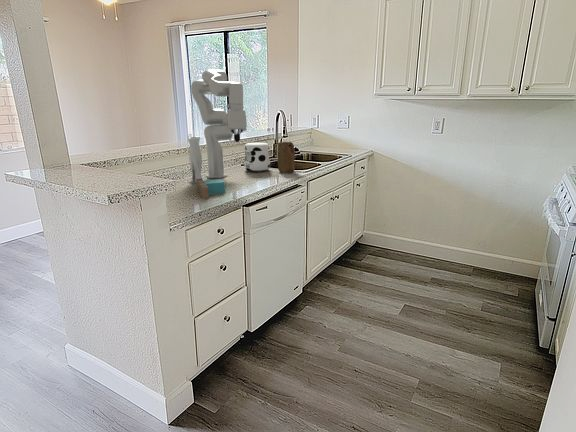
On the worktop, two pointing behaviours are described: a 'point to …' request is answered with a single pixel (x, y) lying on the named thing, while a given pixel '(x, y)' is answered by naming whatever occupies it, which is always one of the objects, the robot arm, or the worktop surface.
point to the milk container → (257, 157)
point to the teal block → (215, 186)
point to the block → (286, 157)
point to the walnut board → (202, 188)
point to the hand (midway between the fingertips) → (237, 141)
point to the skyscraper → (195, 159)
